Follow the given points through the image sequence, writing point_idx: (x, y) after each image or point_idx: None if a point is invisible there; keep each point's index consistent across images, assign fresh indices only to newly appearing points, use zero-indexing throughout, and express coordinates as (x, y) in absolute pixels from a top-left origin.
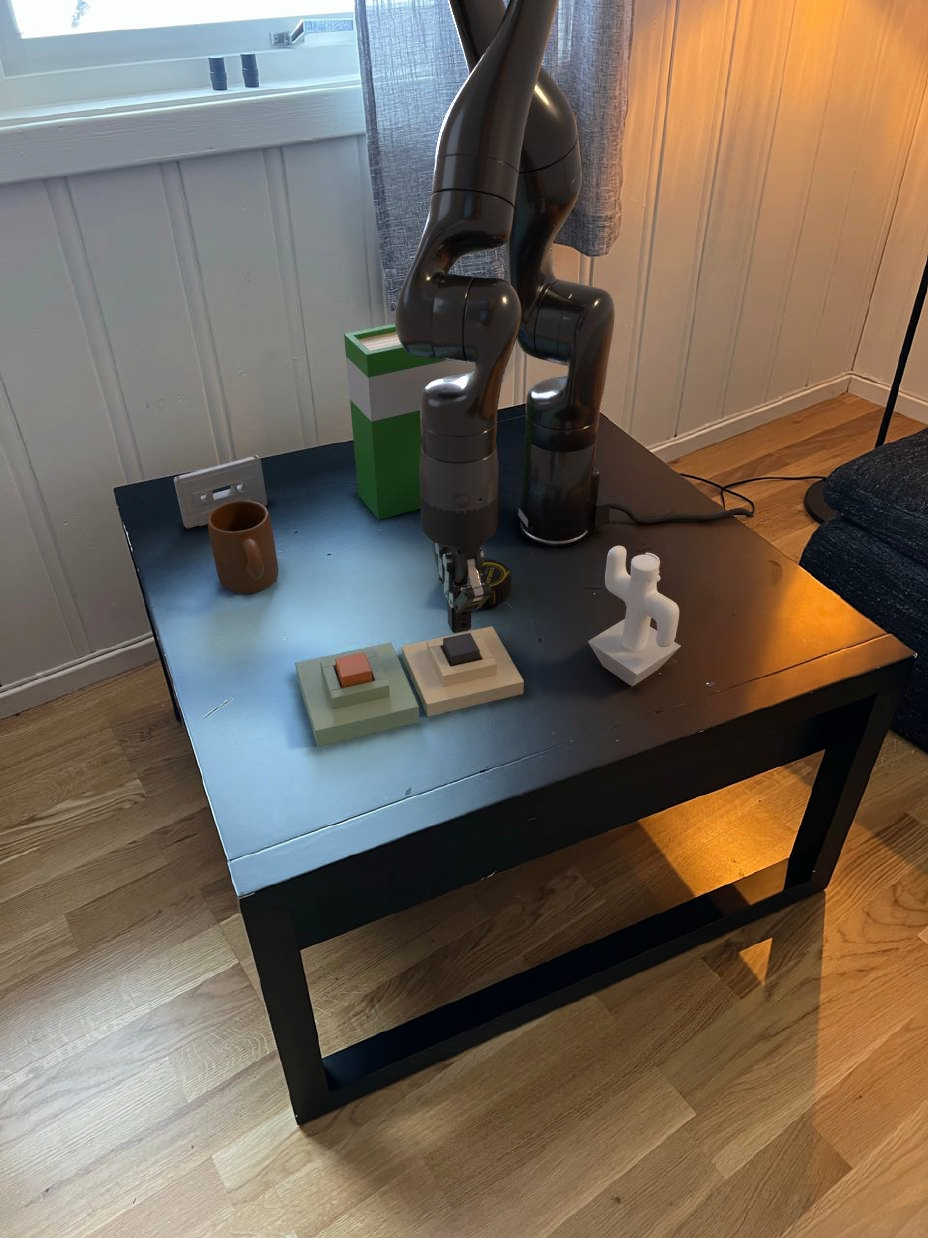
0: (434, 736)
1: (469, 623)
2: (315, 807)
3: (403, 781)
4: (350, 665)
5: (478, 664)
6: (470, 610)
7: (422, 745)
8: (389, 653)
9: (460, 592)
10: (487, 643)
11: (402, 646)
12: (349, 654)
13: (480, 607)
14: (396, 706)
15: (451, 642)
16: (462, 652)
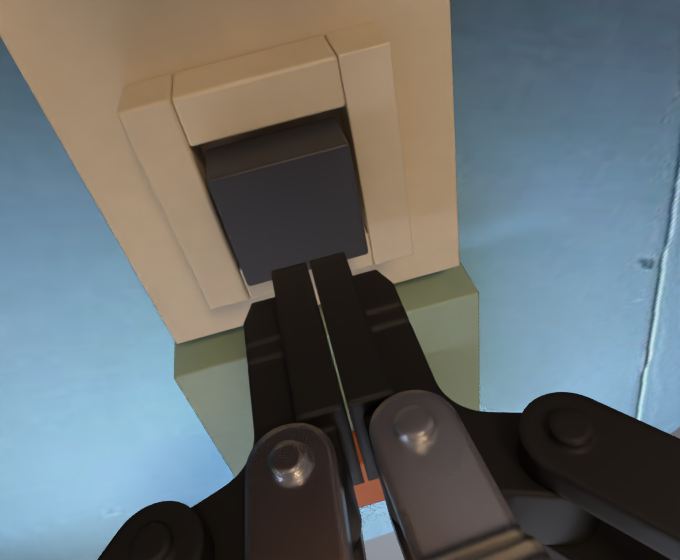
0: (514, 215)
1: (399, 301)
2: (596, 392)
3: (616, 274)
4: (372, 488)
5: (377, 128)
6: (375, 344)
7: (532, 242)
8: (233, 376)
9: (352, 497)
10: (140, 39)
11: (179, 341)
12: (234, 449)
13: (617, 411)
14: (460, 339)
15: (280, 257)
16: (353, 217)
